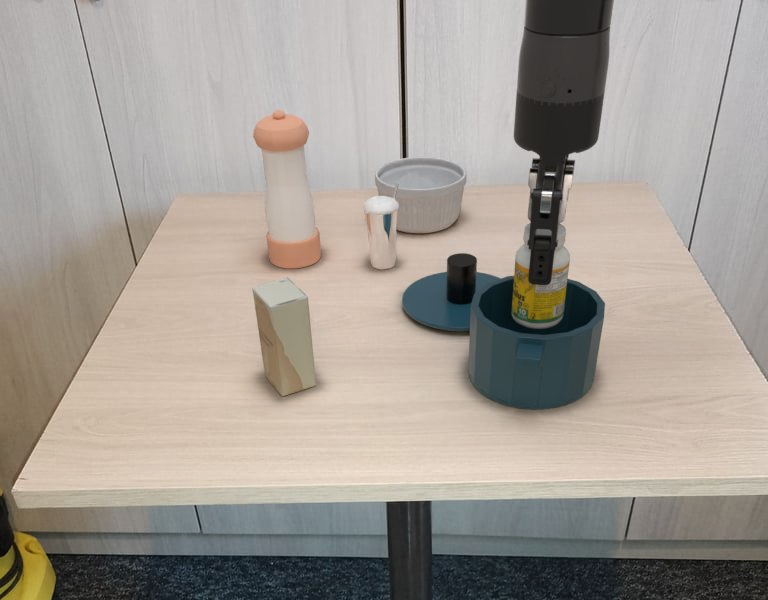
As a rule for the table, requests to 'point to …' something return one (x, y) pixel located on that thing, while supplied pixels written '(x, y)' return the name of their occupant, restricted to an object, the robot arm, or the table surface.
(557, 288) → the supplement bottle
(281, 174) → the pepper shaker
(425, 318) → the lid
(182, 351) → the table surface
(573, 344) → the pot
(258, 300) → the box
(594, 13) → the robot arm
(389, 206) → the milkshake
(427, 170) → the ramekin
